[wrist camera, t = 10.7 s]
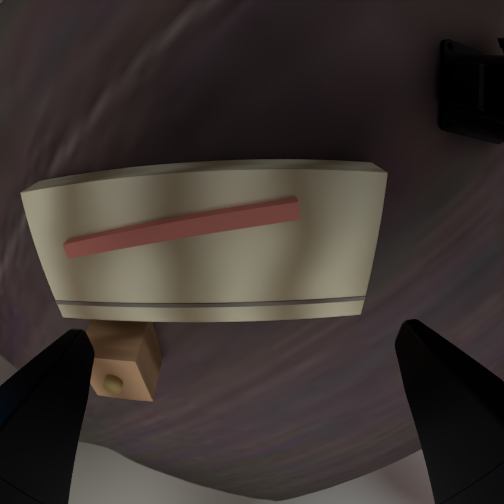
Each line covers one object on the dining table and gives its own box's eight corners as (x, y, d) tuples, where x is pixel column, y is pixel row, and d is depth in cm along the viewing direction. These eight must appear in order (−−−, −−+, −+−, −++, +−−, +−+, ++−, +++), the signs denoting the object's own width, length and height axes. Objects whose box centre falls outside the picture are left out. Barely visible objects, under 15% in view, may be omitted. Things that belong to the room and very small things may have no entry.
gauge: (150, 313, 23) (132, 370, 18) (162, 355, 25) (151, 409, 20) (95, 312, 23) (70, 363, 18) (112, 352, 25) (95, 402, 20)
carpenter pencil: (296, 197, 16) (298, 202, 15) (298, 214, 16) (300, 219, 16) (67, 239, 17) (62, 244, 16) (73, 253, 17) (68, 258, 16)
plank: (371, 162, 17) (388, 173, 15) (351, 293, 22) (361, 315, 20) (39, 180, 17) (19, 193, 15) (74, 298, 22) (62, 317, 20)
